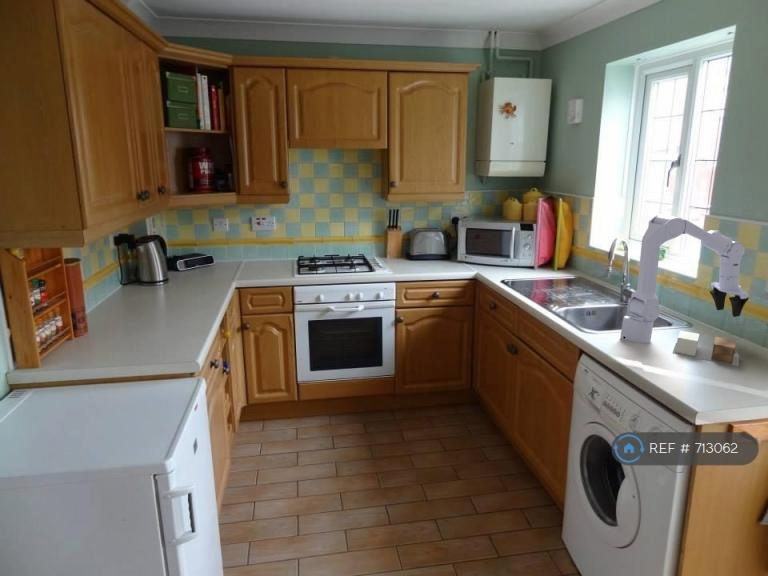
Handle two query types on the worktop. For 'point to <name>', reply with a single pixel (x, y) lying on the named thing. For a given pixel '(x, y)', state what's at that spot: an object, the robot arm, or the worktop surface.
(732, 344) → the walnut box
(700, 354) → the board
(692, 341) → the white box
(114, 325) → the worktop surface
